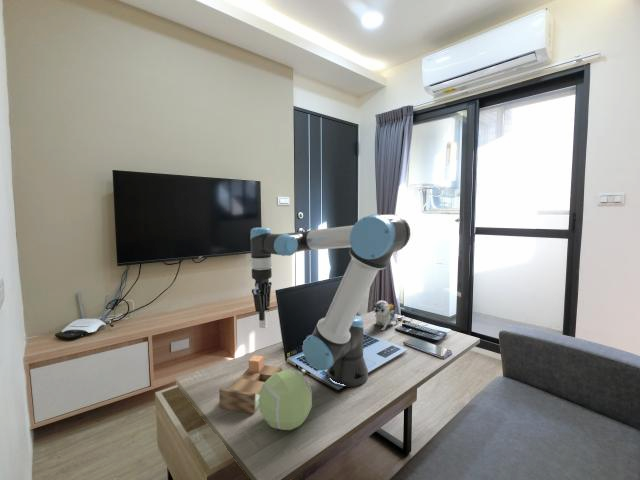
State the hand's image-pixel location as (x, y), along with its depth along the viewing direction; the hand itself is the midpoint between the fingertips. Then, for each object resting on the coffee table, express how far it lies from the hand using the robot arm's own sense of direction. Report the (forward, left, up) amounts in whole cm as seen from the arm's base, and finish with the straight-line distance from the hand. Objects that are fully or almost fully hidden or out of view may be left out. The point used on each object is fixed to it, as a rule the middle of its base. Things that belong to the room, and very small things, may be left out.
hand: (263, 327), depth 120 cm
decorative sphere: (-20, +28, -17) cm, 38 cm away
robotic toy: (-44, -52, -17) cm, 71 cm away
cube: (0, +7, -13) cm, 15 cm away
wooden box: (-3, +15, -16) cm, 22 cm away
